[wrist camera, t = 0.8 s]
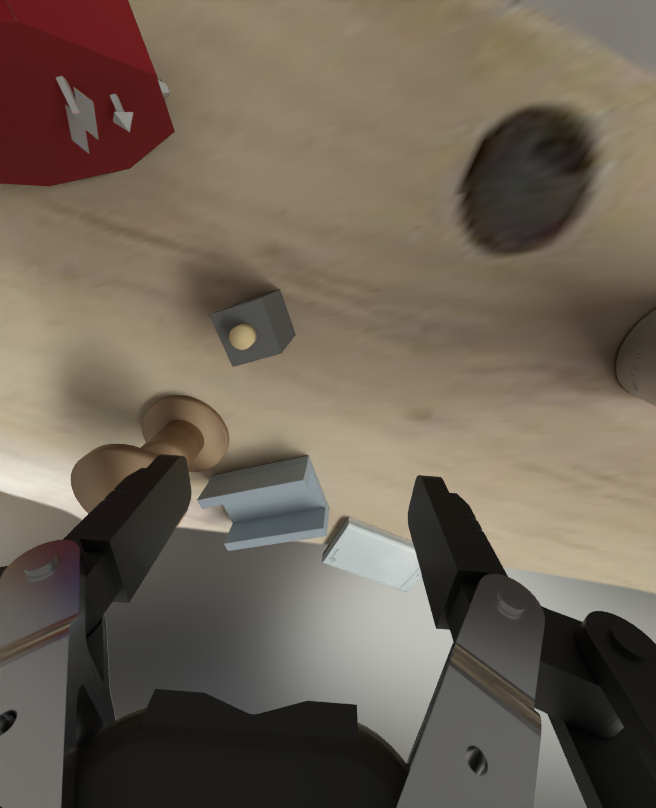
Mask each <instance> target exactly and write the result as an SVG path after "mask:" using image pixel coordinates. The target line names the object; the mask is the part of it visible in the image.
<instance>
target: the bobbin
mask: <svg viewBox="0 0 656 808" xmlns="http://www.w3.org/2000/svg"><path fill="white" fill-rule="evenodd" d="M142 430H143V435H144V438H145V441H146V443H145V444H144V445H143V446H142V447H141V448H139V447H135V446H131V445H126V444H109V445H103V446H100V447H98V448H96V449H94V450H92V451H91V452H90V453H88V454H87V455H85V456H84V457H83V458H81V459H80V460H79V461H78V462H77V463H76V464H75V466H74V468H73V470H72V473H71V486H72V490H73V492H74V495H75V497H76V498H77V500H78V502H79V503H80V505H81V506H82V507H83V508H84V509H85V510H86V512H87V513H88V514H89V513H90V512H91V511H92V510H93V509H94V508H95V507H96V506H97V505H98V504H99V503H100V502H101V501H104V498H105V497H106V496H107V495H108V494H109V493H110V492H111V491H114V488H115V487H116V486H117V485H118V484H119V483H120V482H121V481H122V480H123V479H124V478H125V477H127V476H128V475H130V474H132V473H133V472H135V471H137V470H139V469H140V468H147V467H148V466H149V465H150V464H151V463H152V462H153V460H154V459H155V458H156V457H157V456H158V455H160V454H167V455H180V456H185V457H186V460H187V465H188V471H191V472H198V471H204V470H208V469H210V468H212V467H214V466H215V465H216V464H218V463H219V461H220V460H221V459H222V457H223V456H224V454H225V453H226V451H227V448H228V444H229V435H228V430H227V427H226V425H225V423H224V421H223V420H222V418H221V417H220V416H219V414H218V413H217V412H216V411H215V410H214V409H212V408H211V407H210V406H208V405H207V404H205V403H204V402H202V401H200V400H197V399H195V398H192V397H187V396H170V397H166V398H164V399H162V400H160V401H158V402H157V403H156V404H154V405H153V406H152V407H150V408H149V410H148V411H147V412H146V414H145V416H144V418H143V422H142ZM188 507H189V506H188ZM187 510H188V509H187ZM187 510H186V512H187ZM186 512H185V514H186ZM185 514H184V515H183V517H184V516H185ZM183 517H182V519H183ZM182 519H181V520H182ZM181 520H180V522H181ZM180 522H179V523H180ZM179 523H178V525H179ZM178 525H177V526H178Z"/></svg>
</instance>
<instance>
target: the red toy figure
mask: <svg viewBox="0 0 656 808" xmlns="http://www.w3.org/2000/svg"><path fill="white" fill-rule="evenodd" d="M169 93H170V92H169V89H168V87H167V84H165V83H163V82H161V81H159V80H158V78H157V75H156V73H155V70H154V68H153V65H152V62H151V60H150V57H149V54H148V52H147V49H146V47H145V44H144V41H143V39H142V36H141V33H140V31H139V28H138V25H137V23H136V20H135V18H134V15H133V12H132V10H131V7H130V4H129V2H128V0H0V184H18V185H37V186H53V185H57V184H62V183H66V182H71V181H75V180H80V179H84V178H89V177H93V176H98V175H102V174H107V173H111V172H116V171H120V170H125V169H129V168H131V167H132V166H133V165H135V164H136V163H137V162H138V161H140V160H141V159H142V158H143V157H144V156H146V155H147V154H148V153H149V152H150V151H152V150H153V149H154V148H155V147H157V146H158V145H159V144H160V143H161V142H163V141H164V140H165V139H166V138H168V137H169V136H170V135H171V134H172V133H174V132H175V131H174V128H173V125H172V122H171V119H170V116H169V113H168V109H167V106H166V103H165V100H164V97H168V95H169Z"/></svg>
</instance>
